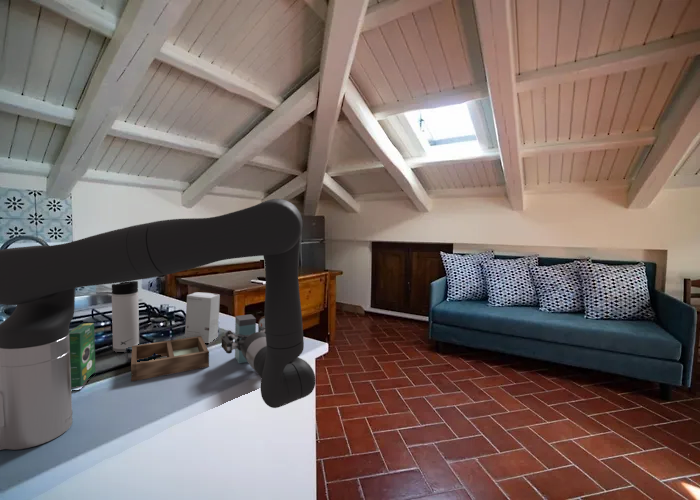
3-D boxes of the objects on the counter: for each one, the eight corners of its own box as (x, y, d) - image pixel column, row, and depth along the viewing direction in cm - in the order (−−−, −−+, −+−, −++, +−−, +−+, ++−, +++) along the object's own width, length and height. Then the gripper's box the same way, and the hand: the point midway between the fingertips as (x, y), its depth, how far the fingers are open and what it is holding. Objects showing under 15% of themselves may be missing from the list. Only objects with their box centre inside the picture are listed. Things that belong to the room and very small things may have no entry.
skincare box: (184, 342, 101) (184, 295, 100) (195, 335, 107) (195, 291, 106) (210, 344, 100) (210, 297, 99) (219, 337, 106) (220, 292, 105)
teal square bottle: (238, 363, 88) (239, 320, 87) (234, 357, 92) (235, 316, 91) (255, 360, 91) (255, 318, 90) (250, 354, 94) (251, 314, 93)
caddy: (131, 381, 76) (131, 365, 76) (132, 360, 87) (132, 345, 87) (208, 366, 86) (209, 351, 85) (201, 349, 97) (201, 335, 96)
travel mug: (126, 354, 91) (125, 283, 89) (107, 351, 92) (105, 281, 90) (145, 346, 97) (144, 280, 95) (126, 343, 98) (125, 278, 96)
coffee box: (82, 375, 78) (80, 322, 77) (96, 373, 79) (95, 321, 78) (65, 392, 71) (63, 334, 70) (81, 390, 72) (79, 333, 71)
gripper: (290, 333, 81) (269, 315, 95) (231, 342, 74) (217, 321, 87) (289, 361, 82) (268, 340, 96) (231, 374, 74) (217, 348, 88)
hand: (244, 331), depth 92 cm, fingers open, 8 cm apart
